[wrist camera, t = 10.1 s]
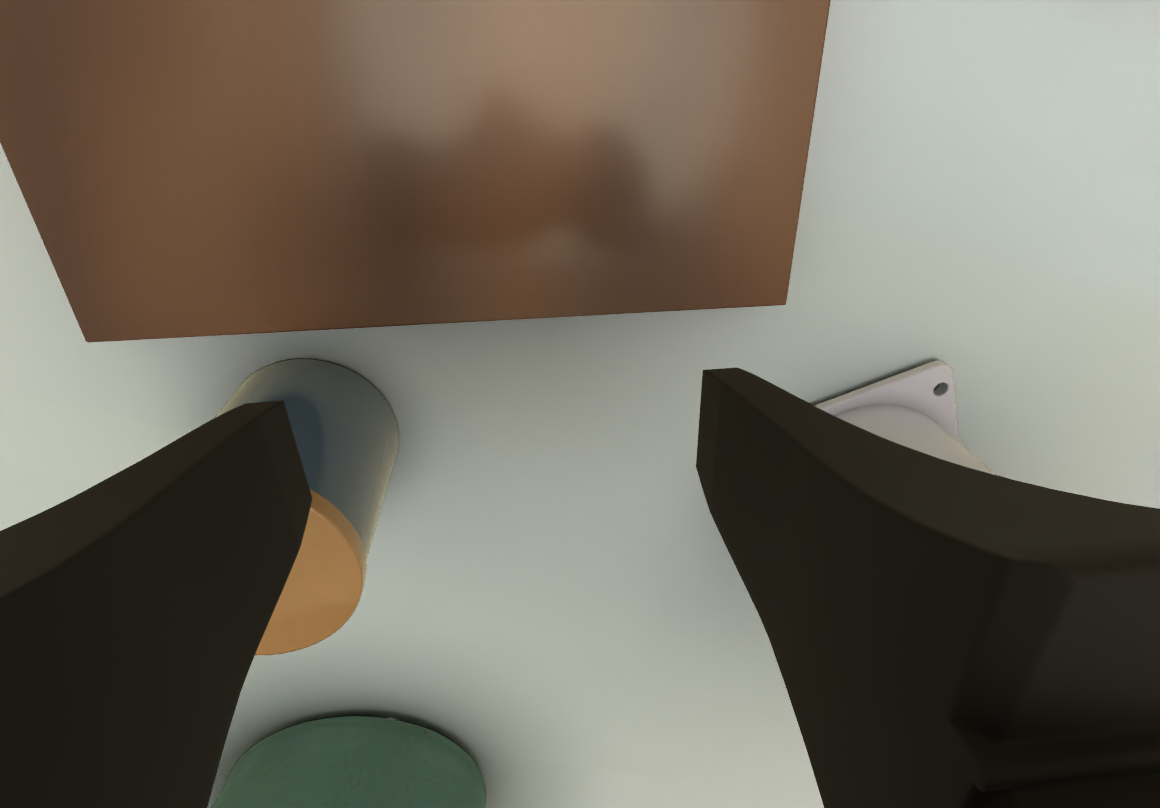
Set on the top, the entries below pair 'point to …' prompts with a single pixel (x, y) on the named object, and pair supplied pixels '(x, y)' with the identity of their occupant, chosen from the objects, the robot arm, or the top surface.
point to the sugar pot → (327, 491)
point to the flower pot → (354, 768)
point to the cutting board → (407, 157)
